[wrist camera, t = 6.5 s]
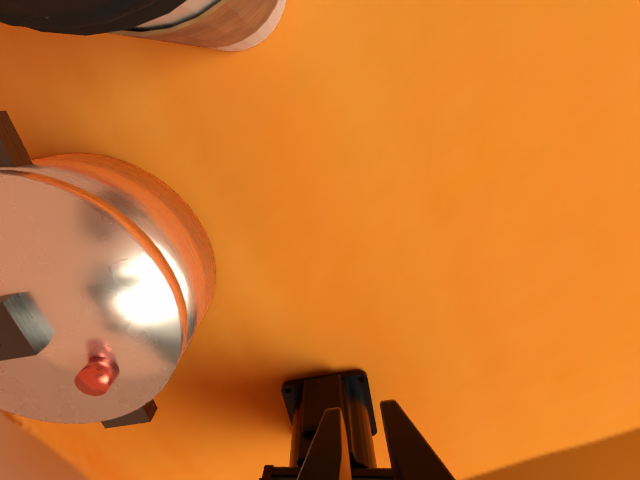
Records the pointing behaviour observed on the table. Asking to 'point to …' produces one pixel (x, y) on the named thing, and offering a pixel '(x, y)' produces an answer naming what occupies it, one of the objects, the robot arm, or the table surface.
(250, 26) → the coffee cup
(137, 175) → the pot
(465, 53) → the table surface
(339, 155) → the table surface
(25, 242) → the lid
